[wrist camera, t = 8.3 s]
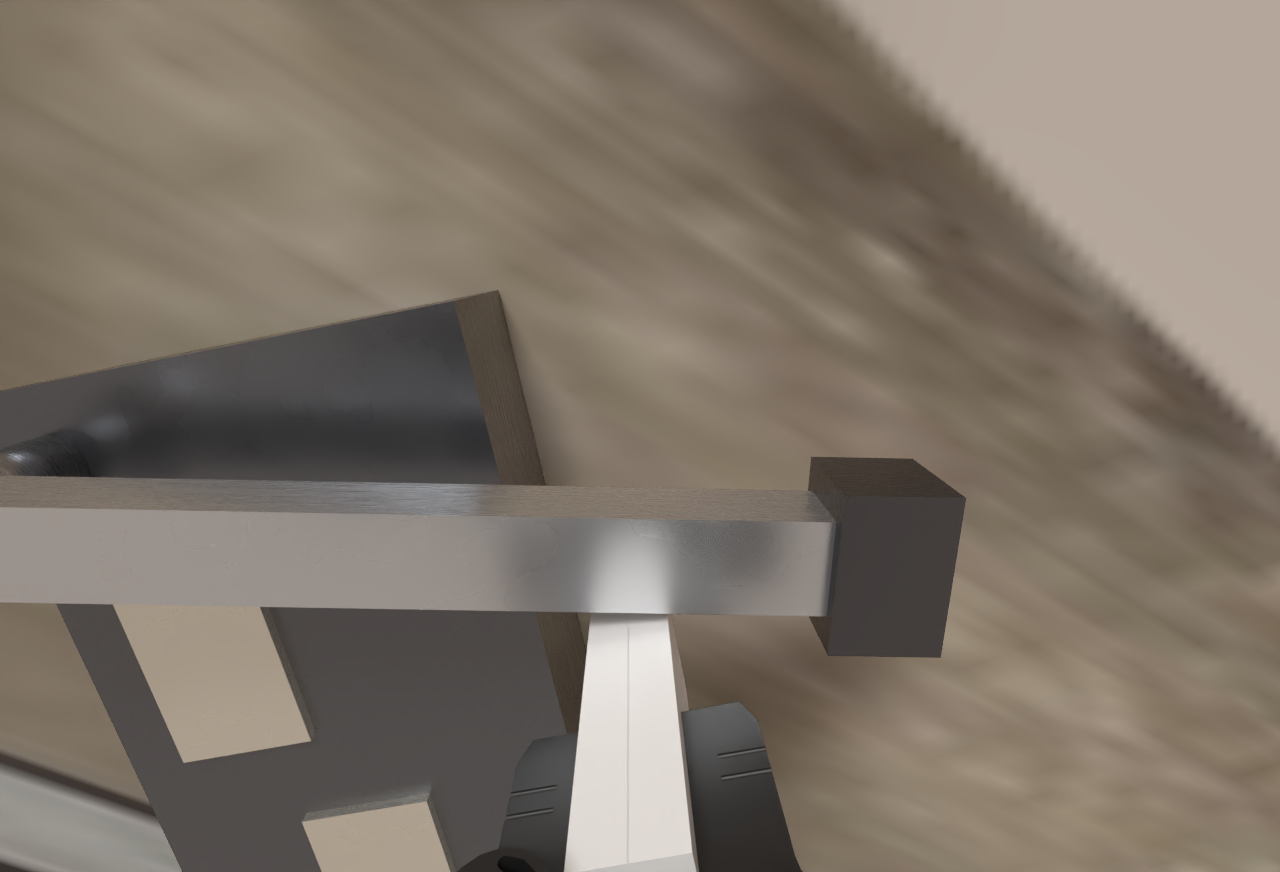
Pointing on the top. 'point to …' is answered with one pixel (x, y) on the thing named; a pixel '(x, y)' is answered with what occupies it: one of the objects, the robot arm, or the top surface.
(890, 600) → the grey long bar
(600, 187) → the top surface
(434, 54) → the top surface
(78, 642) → the lever switch
